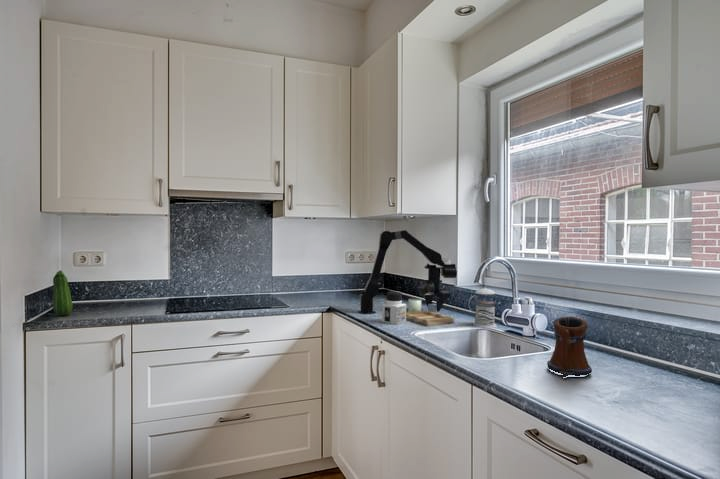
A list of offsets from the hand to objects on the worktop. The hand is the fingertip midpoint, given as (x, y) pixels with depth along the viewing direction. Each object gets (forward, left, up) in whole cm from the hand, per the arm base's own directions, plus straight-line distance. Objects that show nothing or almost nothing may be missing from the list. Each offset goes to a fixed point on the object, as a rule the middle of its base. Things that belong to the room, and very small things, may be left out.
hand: (433, 310), depth 214 cm
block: (0, 0, -1) cm, 1 cm away
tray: (+13, -14, -1) cm, 19 cm away
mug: (+90, -24, -1) cm, 93 cm away
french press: (+31, +2, -1) cm, 31 cm away
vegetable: (-63, -154, -1) cm, 166 cm away
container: (+10, -29, -1) cm, 31 cm away
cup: (0, -11, -1) cm, 11 cm away
